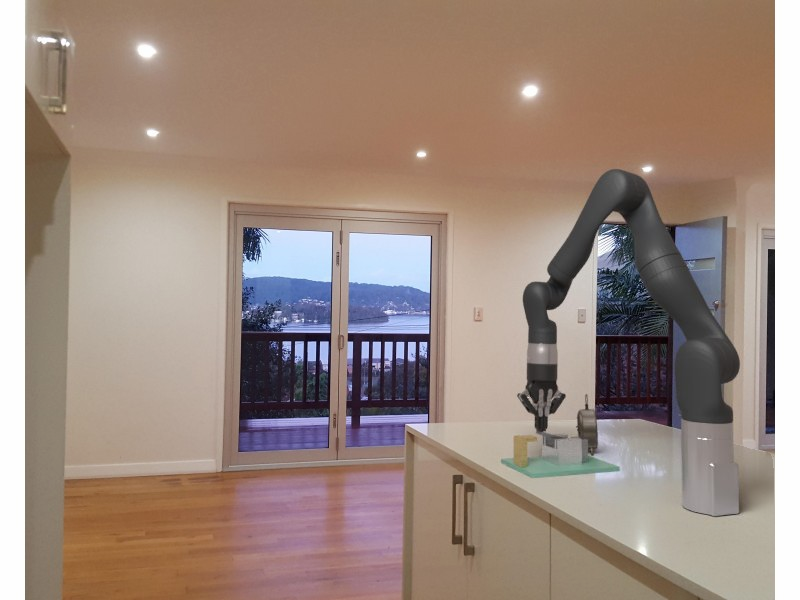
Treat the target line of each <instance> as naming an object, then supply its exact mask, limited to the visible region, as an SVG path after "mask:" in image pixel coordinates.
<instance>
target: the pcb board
mask: <svg viewBox="0 0 800 600" xmlns="http://www.w3.org/2000/svg"><path fill="white" fill-rule="evenodd" d="M500 462H501V464H503V465H505V466H507V467H510V468H511V469H513V470H515V471H518V472H520V473H522V474H524V475H526V476H528V477H530V478H532V479H535V478H548V477H559V476H572V475H585V474H595V473H606V472H607V473H609V472H620V470H621V469H620V466H619V465H616V464H613V463H610V462H608V461H605V460H602V459H599V458H596V457H593V456H592V455H591V456H590V455H588V463H582V465H578V466H565V467H558V466H555V465H553V464H551V463H548V462H546V461H543V460H542V455H539V456H536V455H535V456H527V467H520V466H517V465H515V464H514V457H513V458H512V457H510V458H509V457H508V458H501V459H500Z"/></svg>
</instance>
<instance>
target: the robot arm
mask: <svg viewBox="0 0 800 600" xmlns="http://www.w3.org/2000/svg"><path fill="white" fill-rule="evenodd" d="M613 212H614V213H618V214H619V215H620V216H621V217H622V218H623V220H624V221H625V223H626V225H627V226H628V229H629V231H630V232H631V234H632V238H633V242H634V243H633V244H634V263H635V268H636V270H637V273H638V274H639V277H640V279H641V281H642V283H643V285H644V287H645V289H646V291H647V292H648V294H649V295H650V297H651V298H652V299H653V300H654V302H656V304H657V305H658V306H659V307H660V308H662V311H664V312H665V313H666V314H667V315H669V317H670V318H671V319H672V320H673V321H674V322H675V323H676V324H677V326H678V327H679V329H680V330H681V332H682V333H683V335H684V337H685V341H684V342H683V343H682V344H681V345H680V346H679V347H678V349H677V351H676V354H675V358H674V377H675V378H674V382H675V383H674V384H675V395H676V396H675V397H676V402H677V406H678V408H679V410H680V417H681V418H680V425H681V427H680V429H681V431H680V432H681V434H680V435H681V436H680V437H681V438H680V439H681V440H680V441H681V443H680V447H681V451H680V452H681V454H680V455H681V458H680V459H681V461H680V462H681V506H682V508H685V509H686V510H688V511H692V512H696V513H700V514H705V515H709V516H712V517H718V516H727V515H734V514H737V515H738V514H739V513H740V506H739V505H740V504H739V503H740V501H739V500H740V499H739V495H740V494H739V464H738V463H737V462H735V461H734V460H735V459H734V457H735V456H734V410H733V407H732V406H730V405H729V404H728V403H727V402H725V401H724V398H723V393H722V390H723V389H722V385H724V384H728V383H731V382H732V381H733V380H735V379H736V378H737V376H738V374H739V372H740V367H741V366H740V365H741V360H740V356H739V353H738V351H737V349H736V347H735V345H734V344H733V343H732V341H731V340H730V337H728V335H727V334H726V333H725V331H724V329H723V328H722V326H721V325H720V324H719V322H718V320H717V319H716V317H715V316H714V314H713V313H712V311H711V309H710V307H709V305H708V303H707V302H706V300H705V297H704V295H703V294H702V292H701V290H700V288H699V286H698V285H697V283H696V281H695V279H694V277H693V275H692V273H691V271H690V268H689V267H688V265H687V263H686V261H685V259H684V257H683V255H682V254H681V252H680V250H679V248H678V247H677V245H676V244H675V242H674V239H673V238H672V235H671V234H670V232H669V230H668V228H667V226H666V225H665V223H664V221H663V220H662V219H663V218H661V215H660V212H659V210H658V207H657V205H656V202H655V199H654V197H653V195H652V191H651V189H650V186H649V185H648V183H647V182H646V181H645V179H644V178H643V177H641V176H640V175H638V174H635V173H633V172H631V171H627V170H623V169H618V168H612V169H609V170H607V171H605V172H604V173H602V175H600V177H599V178H598V180H597V181H596V183H595V184H594V186H593V188H592V189H591V191H590V194H589V196H588V198H587V200H586V202H585V204H584V206H583V208H582V210H581V212H580V213H579V216H578V218H577V220H576V221H575V223H574V226H573V228H572V229H571V231H570V233H569V234H568V236H567V237H566V239H565V241H564V242H563V243H562V245H561V246H560V247H559V249H558V250H557V252H556V253H555V255H554V256H553V258H552V259H551V260H550V262H549V264H548V265H547V267H546V268H547V269H546V270H547V271H546V272H547V274H548V276H550V277H549V279H548V280H547V281H531V282H530V283H528V284H527V285H526V286H525V288H524V290H523V293H522V305H523V306H522V307H523V309H524V315H525V318H526V322H527V323H526V324H527V327H528V330H527V331H528V334H527V336H528V338H527V350H526V381H527V383H526V385H525V389H524V390H523V391H522V392H519V393H517V395H516V396H517V398H518V400H519V401H520V403H521V404H522V405H523V407H524V408H525V410H526V411H527V413H529V414H531V415H533V416H534V429H536V430H537V431H539V432H545V433H546V432H547V430H548V426H549V423H548V422H549V416H550V415H552V414H553V415H554V414H555V413H556V412H557V411H558V409H559V407H560V406H561V405H562V403H563V401H565V399H566V393H563V392H562V391H561V390H559V386H558V384H557V381H558V365H559V364H558V357H559V356H558V354H559V353H558V347H557V346H558V342H557V341H558V328H557V327H558V326H557V323H556V322H555V321H554V320H552V319H550V318H549V315H548V311H553V310H556V309H558V307H560V306H561V305H562V304H563V303H564V301H565V299H566V297H567V295H568V293H569V291H570V288H571V286H572V284H573V280H574V279H576V278H577V275H579V273H580V271H581V270H582V269H583V267H584V266H585V265H586V264H587V262H588V260H589V258H590V257H591V254H592V251H593V247H594V244H595V239H596V237H597V235H598V231H599V229H600V228H601V226H602V225H603V223H604V221H606V219H607V218H608V217H609V216H610V215H611V214H612V213H613ZM536 430H535V431H536Z"/></svg>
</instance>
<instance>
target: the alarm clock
mask: <svg viewBox="0 0 800 600" xmlns="http://www.w3.org/2000/svg"><path fill="white" fill-rule="evenodd" d="M584 397H585V399H584V402H585V404H584V407H585V408H583V409H582V408H581V409H579V410H578V411H577V415H576V419H577V422H576V423H577V425H576V426H575V428H577V436H578V437H580V439H588V450H590V455H591V456H593V455H594V450H597V449H598V446H599V432H598V421H597V416H596V415H597V414H596V411H595V409H594V408H590V407H589V396H588V394H587V393H586V394H585V396H584Z"/></svg>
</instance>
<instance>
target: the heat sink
mask: <svg viewBox="0 0 800 600" xmlns="http://www.w3.org/2000/svg"><path fill="white" fill-rule="evenodd" d="M553 435H557V436H560V437H564V438H566V439H554V438H551V437H546V436H542V435H541V456H542V460H543V461H546V462H548V463H551V464H553V465H555V466H558V467H565V466H578V465H582V463H588V456H589V449H588V439H580V437H578V435H576V436H570V437H569V435H568V434H566V433H553ZM568 437H569V438H568Z"/></svg>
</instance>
